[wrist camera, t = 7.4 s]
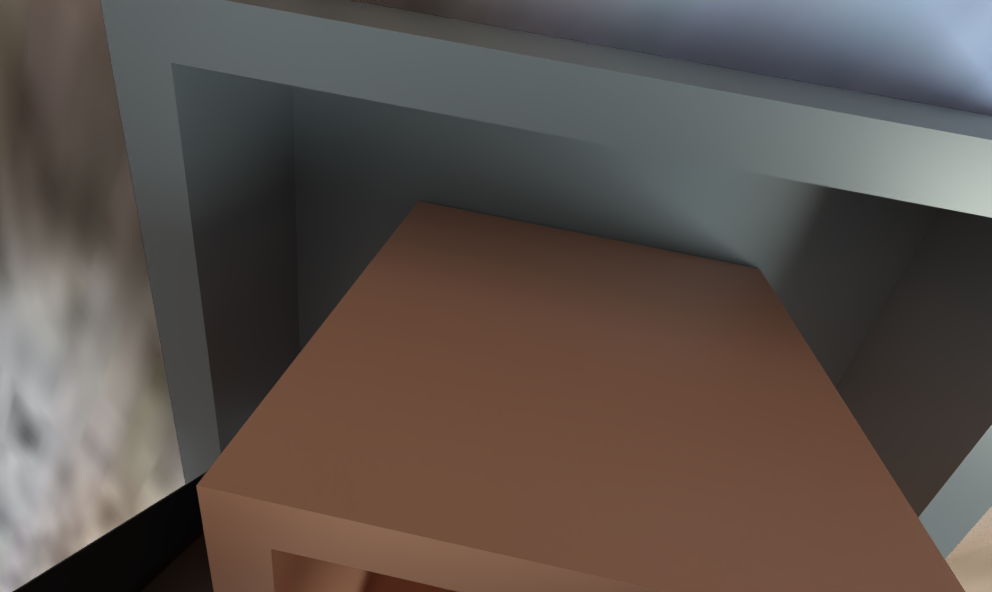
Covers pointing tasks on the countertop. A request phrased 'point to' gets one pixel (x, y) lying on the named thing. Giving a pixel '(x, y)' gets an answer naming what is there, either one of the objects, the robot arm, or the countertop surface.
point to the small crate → (556, 434)
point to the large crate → (550, 201)
